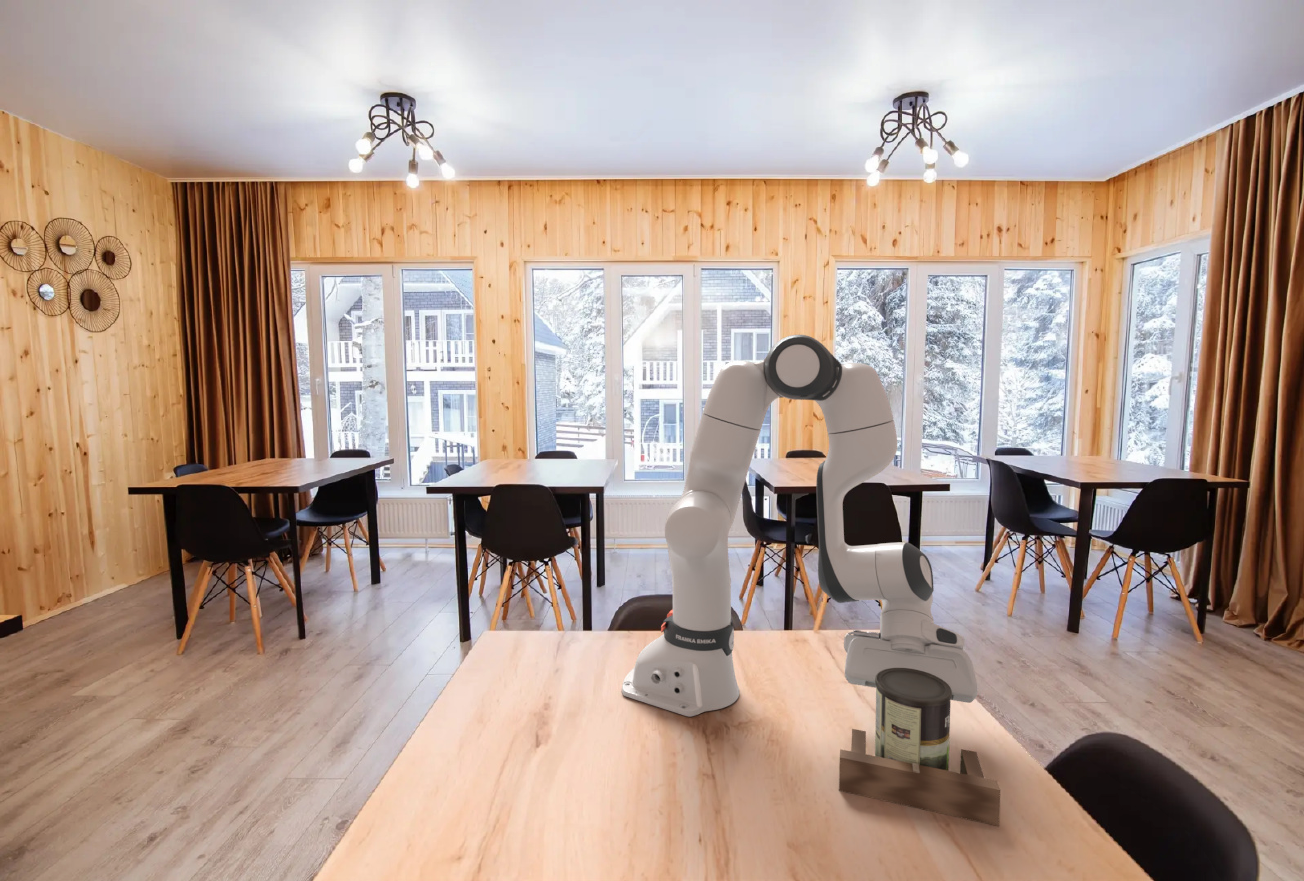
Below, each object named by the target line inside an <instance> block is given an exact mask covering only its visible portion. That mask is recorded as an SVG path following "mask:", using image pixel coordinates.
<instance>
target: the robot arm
mask: <svg viewBox="0 0 1304 881" xmlns="http://www.w3.org/2000/svg"><path fill="white" fill-rule="evenodd" d="M779 398H780V399H781V398H784V399H788V400H799V401H800V400H801V401H803V400H805V401H814V402H815V403H816V404H817V405H818V406H819V408H820V410H821V411H822V414H823V418H824V421H825V426H826V431H827V432H826V433H827V436H828V452H827V456H826V458H825V460H824V461H822V462H821V463H820V464H819V465H818V468H817V472H816V481H815V482H816V484H815V486H816V489H815V490H816V516H817V519H816V520H817V535H818V559H817V575H818V576H817V578H818V583H819V587H820V589H821V590H822V592H824V593H825V594H826V595H827V596H828V597H830V598H831V599H832V600H833V601H835V602H836V603H838V604H844V603H852V602H859V601H877V600H878V601H880V602H881V603H882V608H881V611H880V615H879V632H875V631H863V630H859V629H854V630H853V631H850V632H847V633H846V634H845V636H844V639H843V641H844V642H843V648H844V651H845V652H846V657H845V664H844V678H845V679H846V681H847V683H849V684H851V685H857V686H862V687H868V688H874V689H876V683H875V677H876V675H877V673H879V672H880V671H882V670H885V669H889V668H909V669H916V670H920V671H924V672H927V673H930V674H932V675H935V676H937V677H938V678H940V679H942V680H943V681H945V682H946V683H947V684H948V685H949V686H950V688H951V690H952V696H951V700H950V701H956V702H962V703H968V704H969V703H972V702H973V701H975V699H976V698H977V697H978V696H977V695H978V683H977V677H976V673H975V668H974V664H973V661H972V659H971V657H970V655H969V654H968V653H967V652H966V651H965V647H966V646H965V644H966V643H965V638H964V636H963V634H961V633H958V632H956V631H953V630H950V629H948V628H945V627H943V626H940V625H937V624H936V623H935V622H934V621H935V620H934V617H933V614H932V605H933V601H934V599H933V598H934V597H933V593H934V588H935V587H934V574H933V569H932V564H931V562H930V560H929V558H928V557H927V555H926V554H925V553H923V551H921V550H920V549H919V548H918V547H916V546H914V545H913V544H912V543H910V542H904V541H903V542H899V541H898V542H886V543H885V542H884V543H877V544H864V545H849V544H847V543H846V542H845V535H844V534H845V532H844V529H845V528H844V527H845V526H844V510H843V509H844V508H843V506H844V504H843V502H844V499H845V496H846V495H847V494H848V492H849V491H851V490H852V489H853V488H855V487H857V486H860V485H861V484H862V483H865V482H866V481H868V480H870V479H871V478H874V477H875V476H877V475H878V474H879V473H882V472H883V471H884V470H885V469H886V468H887V467H888V466H889V465H890V464H892V461H893V460H894V459H895V456H896V454H897V451H898V437H897V430H896V425H895V420H894V417H893V416H894V415H893V411H892V408H891V404H890V401H889V399H888V396H887V391H886V390H885V388H884V386H883V382H882V381H881V379H880V376H879V374H878V373H877V370H875V369H874V368H873V367H872V366H871V365H869V364H866V363H862V362H850V363H849V362H847V363H844V364H841V362H840V361H839V360H838V359H837V358H836V357H835V356H834V355H833V354H832V353H831V352H830V351H829V350H828V349H827V347H826V346H825V345H824V344H823V343H821V342H820V341H819V340H817V339H816V338H815V337H813V336H809V335H805V334H791V335H788V336H786V337H783V338H781V339H780V340H778V341H777V342H776V343H775V344H774V345H772V347H771V348H770V349H769V351H768V353H767V355H766V356H765V357H764V359H762V361H759V362H751V361H749V360H748V361H747V360H735V361H730V362H728V363H726V364H725V365H723V366H722V368H721V369H720V370H719V372H718V374H717V375H716V378H715V380H714V382H713V384H712V386H711V389H710V391H709V394H708V396H707V399H706V401H705V404H704V408H703V410H702V413H701V417H700V420H699V424H698V427H697V430H696V434H695V437H694V441H693V444H692V447H691V451H690V458H689V463H688V470H687V474H686V480H685V484H684V487H683V491H682V494H681V495H680V499H679V500H677V502H675V503H674V504H673V505H672V506H671V508H670V510H669V511H668V513H667V516H666V520H665V523H664V524H665V525H664V536H665V537H664V538H665V541H666V543H667V552H668V559H669V560H668V561H669V566H670V570H671V571H670V572H671V581H672V582H671V583H672V609H671V610H670V611H668V613H667V615H666V618H665V619H664V620H663V623H662V624H661V626H660V632H661V633H662V635H660V636H659V637H657V638H655V639H654V640H652V641H651V642H650V643H648V644H647V645H645V647H643V649H642V650H641V651H640V653H639V654H638V656H637V658H636V661H635V664H634V667H633V668H632V669H631V670H630V671H629V672H628V673H627V674H626V676H625V677H624V679H623V681H622V686H621V687H622V688H621V693H622V695H623V696H624V697H627V698H630V699H632V700H636V701H639V702H641V703H645V704H648V705H650V706H653V707H658V708H660V709H663V710H666V711H670V712H672V713H675V714H679V715H682V716H684V717H695V716H697V715H700V714H701V713H704V712H710V711H716V710H720V709H724V708H726V707H728V706H731V705H732V704H734V703H735V702H736V701H737V700H738V698H739V697H740V688H739V686H738V682H737V677H736V673H735V668H734V660H733V650H734V645H735V644H734V643H735V629H734V620H733V618H732V614H731V613H732V578H731V573H730V562H729V545H728V544H729V535H730V534H729V533H730V530H731V528H732V526H733V523H734V520H735V516H736V513H737V511H738V507H739V503H740V501H741V497H742V493H743V491H744V490H743V489H744V486H745V483H746V480H747V477H748V471H749V468H750V466H751V462H752V459H753V456H754V453H755V449H756V448H757V443H758V439H759V437H760V433H761V429H762V428H763V425H764V424H763V423H764V420H765V417H766V414H767V412H768V409H769V407H770V406H771V404H772V403H773V402H774V401H775V400H777V399H779Z"/></svg>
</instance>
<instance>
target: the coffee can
mask: <svg viewBox="0 0 1304 881" xmlns="http://www.w3.org/2000/svg"><path fill="white" fill-rule="evenodd" d="M875 683H876V688H875V733H874V734H875V736H874V737H875V739H874V742H875V744H874V746H875V747H874V749H875V750H874V756H877V757H882V758H887V759H892V760H897V761H902V762H907V763H917V764H919V765H922V766H927V767H932V768H937V769H942V770H947V771H949V765H950V764H949V761H950V760H949V759H950V757H949V756H950V734H951V733H950V732H951V731H950V728H951V726H950V725H951V701H952V700H951V696H952V690H951V688H950V686H949V685H948V684H947V683H946V682H945V681H943V680H942V679H940V678H938V677H937V676H935V675H932V674H930V673H927V672H924V671H920V670H916V669H909V668H889V669H885V670H882V671H880V672H879V673H877V675H876V677H875Z"/></svg>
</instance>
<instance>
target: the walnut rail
mask: <svg viewBox="0 0 1304 881" xmlns="http://www.w3.org/2000/svg"><path fill="white" fill-rule="evenodd" d="M850 744H851V746H850V748H851V749H850V750H846V749H841V748H840V750H839V766H838V767H839V771H838V772H839V773H838V775H839V776H838V779H839V780H838V781H839V782H838V791H840V792H845V793H849V794H853V795H858V796H861V797H866V798H871V799H875V800H879V801H885V802H890V803H894V804H898V805H902V806H906V807H912V808H916V809H920V810H926V811H930V812H934V813H937V814H938V813H939V814H942V815H946V816H952V817H956V818H960V819H965V820H970V821H974V822H978V823H983V824H988V825H993V826H995V827H996V826H997V827H1000V811H1001V808H1000V806H1001V787H1000V785H999V781H998V779H992V778H987V777H985V775H984V773H983V768H982V766H981V761H980V759H979V756H978V753H977V751H973V750H967V749H962V748H961V749H960V767H959V769H960V770H959V772H957V771H952V770H948V771H947V770H942V769H937V768H932V767H927V766H922V765H919V764H917V763H907V762H902V761H897V760H892V759H887V758H882V757H877V756H875V755H873V754H867V753H866V752H867V746H866V745H867V731H865V730H861V729H855V728H852V729H851V743H850Z"/></svg>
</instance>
